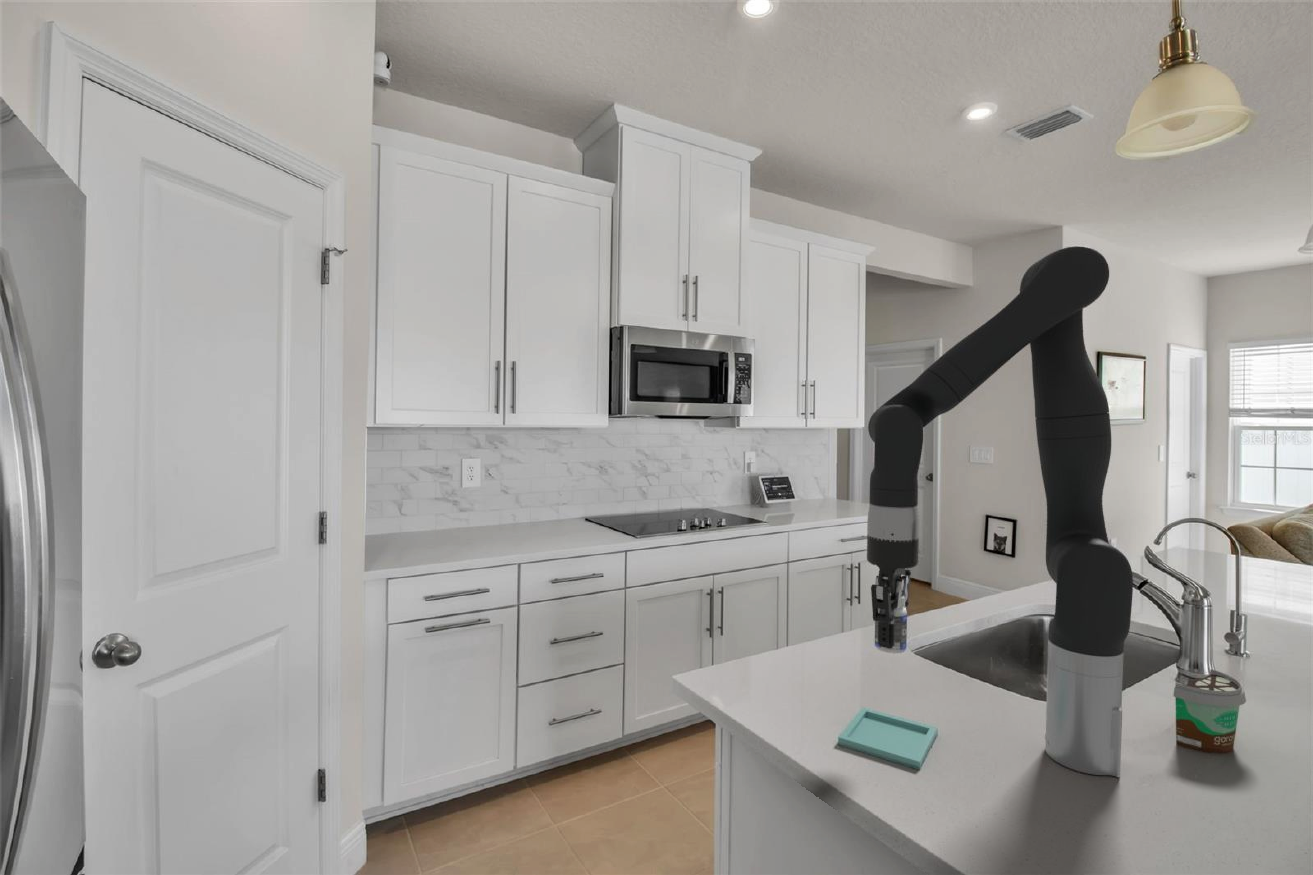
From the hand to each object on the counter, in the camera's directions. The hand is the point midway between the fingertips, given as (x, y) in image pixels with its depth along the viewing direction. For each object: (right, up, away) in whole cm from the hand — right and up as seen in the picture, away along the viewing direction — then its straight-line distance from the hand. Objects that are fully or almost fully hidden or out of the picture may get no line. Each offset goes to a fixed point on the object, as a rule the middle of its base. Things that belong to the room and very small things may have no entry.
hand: (890, 640), depth 99 cm
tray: (0, -16, +1) cm, 16 cm away
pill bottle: (0, -1, 0) cm, 1 cm away
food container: (+50, -16, -1) cm, 52 cm away
